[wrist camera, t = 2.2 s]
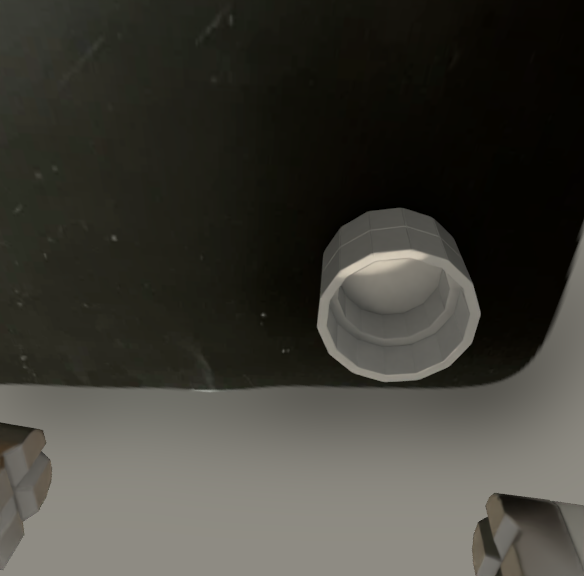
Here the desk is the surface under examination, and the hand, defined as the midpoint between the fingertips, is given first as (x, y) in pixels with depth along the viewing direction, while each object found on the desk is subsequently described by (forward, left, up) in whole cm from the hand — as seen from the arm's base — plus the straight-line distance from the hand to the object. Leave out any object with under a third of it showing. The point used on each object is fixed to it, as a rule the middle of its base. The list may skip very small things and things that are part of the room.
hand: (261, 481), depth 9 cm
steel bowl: (-4, +3, -15) cm, 16 cm away
